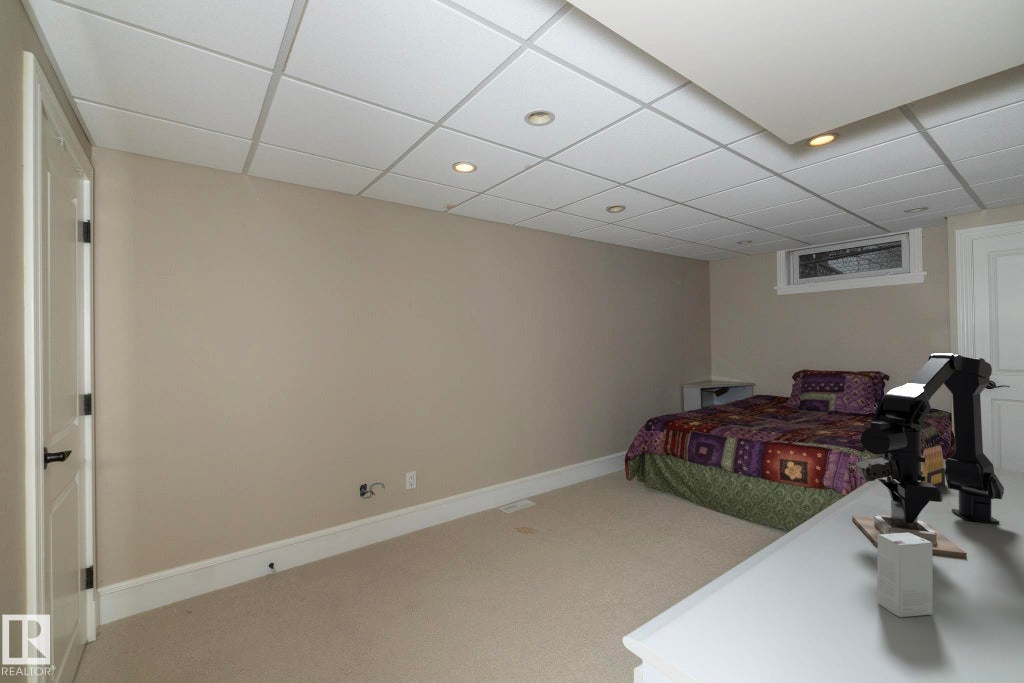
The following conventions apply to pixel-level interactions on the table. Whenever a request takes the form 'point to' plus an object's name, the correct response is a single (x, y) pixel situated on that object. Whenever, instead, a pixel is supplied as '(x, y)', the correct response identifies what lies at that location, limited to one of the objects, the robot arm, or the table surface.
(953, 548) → the wooden board with frame
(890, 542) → the skincare box
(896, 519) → the cylinder
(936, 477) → the ammunition clip
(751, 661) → the table surface
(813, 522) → the table surface
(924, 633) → the table surface
